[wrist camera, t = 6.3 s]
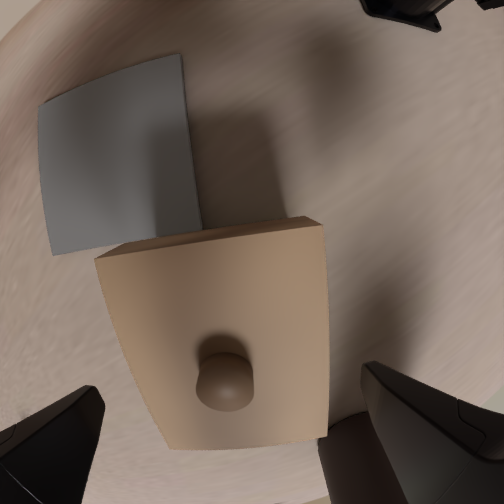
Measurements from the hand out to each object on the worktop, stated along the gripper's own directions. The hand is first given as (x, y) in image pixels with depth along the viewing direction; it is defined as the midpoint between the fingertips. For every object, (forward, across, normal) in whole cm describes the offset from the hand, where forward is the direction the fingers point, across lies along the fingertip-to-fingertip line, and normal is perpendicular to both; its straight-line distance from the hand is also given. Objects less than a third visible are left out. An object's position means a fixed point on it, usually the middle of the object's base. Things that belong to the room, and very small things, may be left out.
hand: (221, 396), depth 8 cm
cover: (+4, 0, 0) cm, 4 cm away
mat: (+8, +6, -9) cm, 14 cm away
